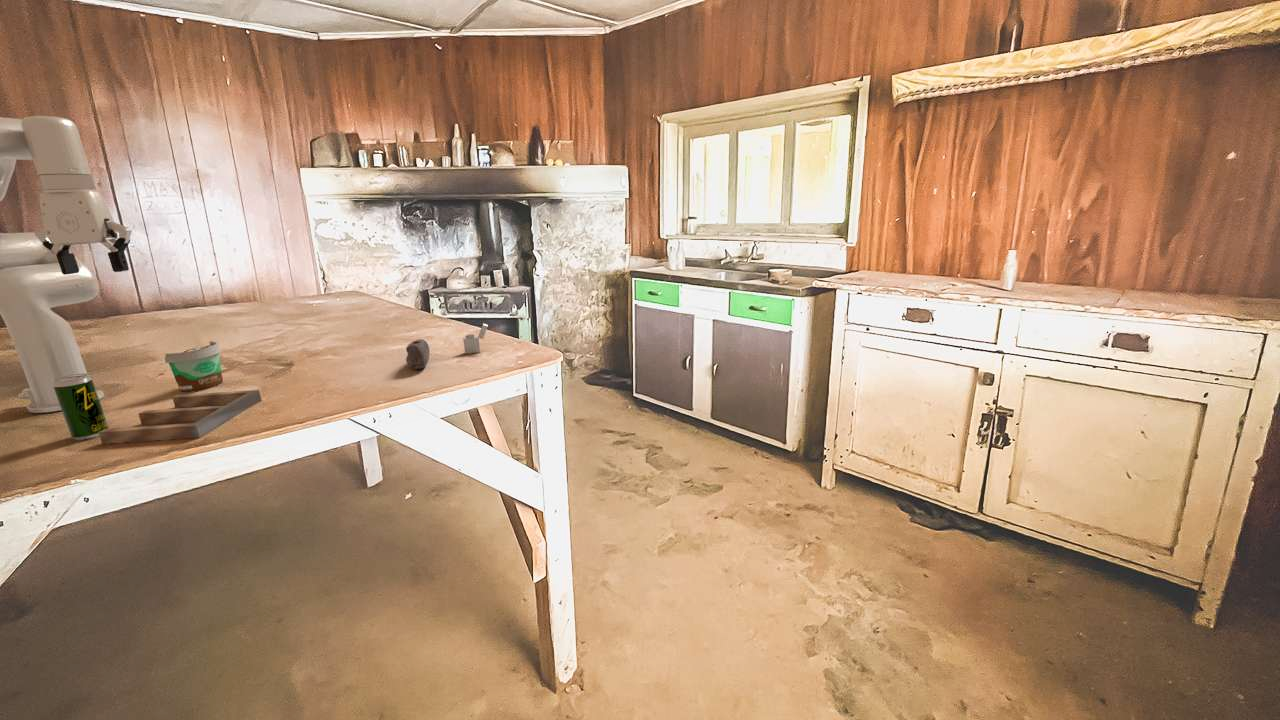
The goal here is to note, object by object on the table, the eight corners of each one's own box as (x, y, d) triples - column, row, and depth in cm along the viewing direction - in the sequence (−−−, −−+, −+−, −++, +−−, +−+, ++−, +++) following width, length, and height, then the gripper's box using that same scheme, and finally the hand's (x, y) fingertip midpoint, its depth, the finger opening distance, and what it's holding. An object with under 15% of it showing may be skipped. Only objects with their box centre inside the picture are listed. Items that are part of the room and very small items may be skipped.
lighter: (465, 353, 156) (461, 326, 154) (465, 352, 158) (461, 325, 156) (490, 351, 158) (487, 323, 156) (490, 349, 160) (487, 322, 157)
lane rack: (102, 444, 104) (98, 432, 103) (180, 405, 124) (177, 395, 123) (199, 437, 105) (196, 425, 105) (261, 400, 125) (258, 389, 124)
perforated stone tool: (416, 358, 154) (412, 334, 152) (435, 356, 155) (432, 332, 153) (405, 374, 140) (400, 347, 138) (426, 372, 141) (422, 345, 139)
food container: (195, 395, 130) (184, 354, 127) (174, 394, 132) (162, 354, 129) (241, 378, 142) (231, 341, 139) (221, 378, 143) (211, 340, 140)
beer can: (65, 442, 106) (43, 383, 102) (84, 431, 111) (64, 374, 107) (98, 438, 107) (77, 380, 104) (116, 428, 112) (97, 371, 109)
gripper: (2, 186, 104) (33, 277, 109) (98, 182, 106) (126, 272, 110) (40, 187, 112) (68, 272, 116) (130, 183, 113) (154, 268, 118)
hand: (96, 272), depth 113 cm, fingers open, 9 cm apart
